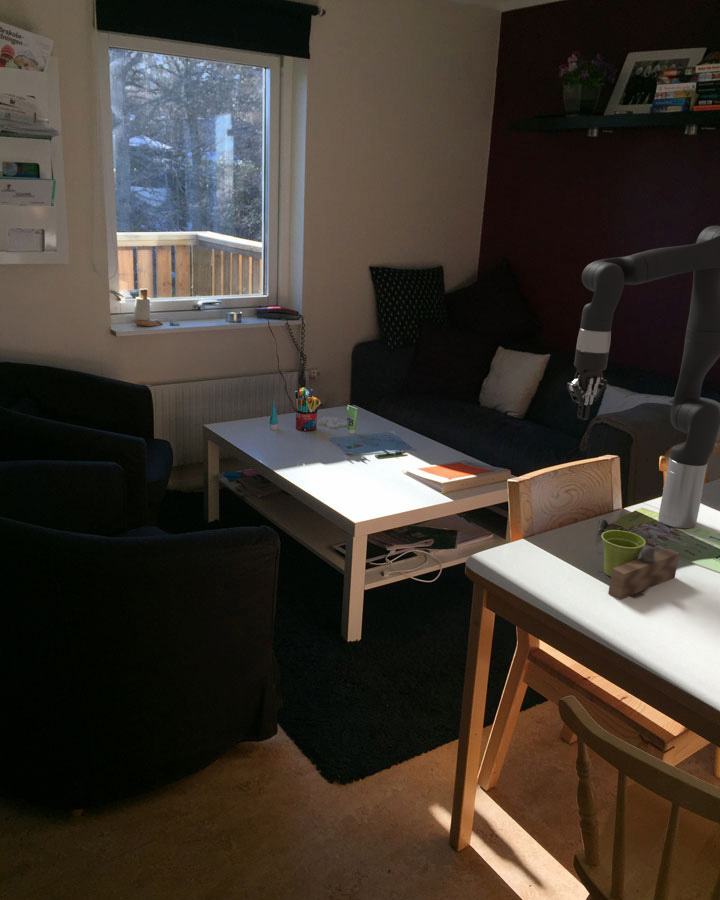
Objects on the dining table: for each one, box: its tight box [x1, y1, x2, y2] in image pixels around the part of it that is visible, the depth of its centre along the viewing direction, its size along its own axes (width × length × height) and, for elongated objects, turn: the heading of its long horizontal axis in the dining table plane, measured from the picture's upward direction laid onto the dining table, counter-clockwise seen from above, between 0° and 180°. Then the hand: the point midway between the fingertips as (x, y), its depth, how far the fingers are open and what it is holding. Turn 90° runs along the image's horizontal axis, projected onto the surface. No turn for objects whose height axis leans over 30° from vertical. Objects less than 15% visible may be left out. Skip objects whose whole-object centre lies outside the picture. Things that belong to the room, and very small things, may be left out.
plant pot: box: [601, 529, 646, 578], centre depth 179 cm, size 9×9×9 cm
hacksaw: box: [594, 519, 629, 555], centre depth 197 cm, size 24×10×2 cm, turn 160°
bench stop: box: [607, 545, 680, 600], centre depth 174 cm, size 20×3×9 cm, turn 126°
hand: (582, 418), depth 195 cm, fingers closed
